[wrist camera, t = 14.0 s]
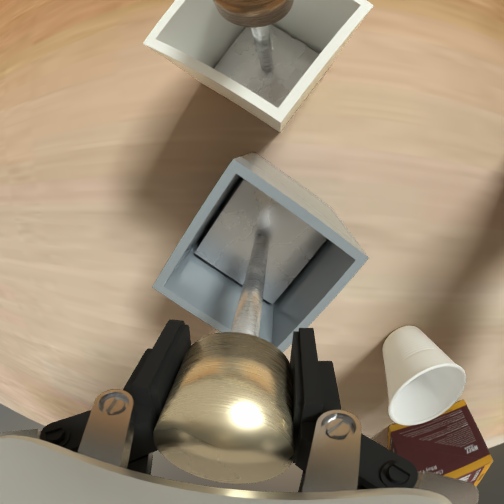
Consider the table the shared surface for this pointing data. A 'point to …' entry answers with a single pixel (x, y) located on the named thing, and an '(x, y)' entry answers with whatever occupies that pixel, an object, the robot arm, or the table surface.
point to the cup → (419, 377)
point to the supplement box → (444, 445)
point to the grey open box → (228, 290)
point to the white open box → (226, 34)
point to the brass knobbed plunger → (240, 353)
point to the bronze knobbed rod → (263, 49)
